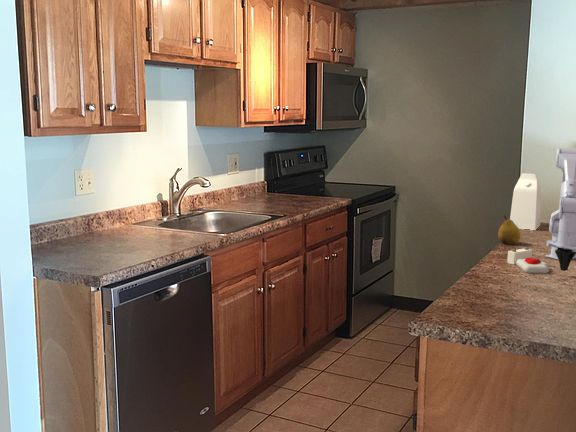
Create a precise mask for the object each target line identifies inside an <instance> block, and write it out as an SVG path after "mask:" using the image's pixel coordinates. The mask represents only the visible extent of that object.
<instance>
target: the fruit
mask: <svg viewBox="0 0 576 432" xmlns="http://www.w3.org/2000/svg"><path fill="white" fill-rule="evenodd" d="M503 217H504V219H505V220H504V221H503V222H502V223H501V225H500V226H499V229H498V232H497V237H498V240H499V242H500V243H502V244H504V245H516V244H517V243H519V241H520V239H521V231H520V229H518V227H517V226H516V225H515V224H514V222H513V221H512V220H510V218H509V219H507V217H506V215H503Z"/></svg>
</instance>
